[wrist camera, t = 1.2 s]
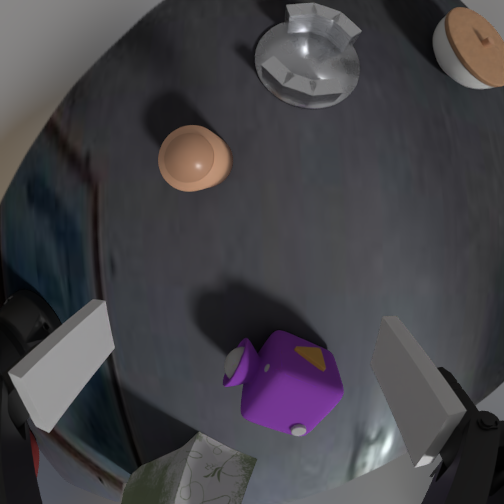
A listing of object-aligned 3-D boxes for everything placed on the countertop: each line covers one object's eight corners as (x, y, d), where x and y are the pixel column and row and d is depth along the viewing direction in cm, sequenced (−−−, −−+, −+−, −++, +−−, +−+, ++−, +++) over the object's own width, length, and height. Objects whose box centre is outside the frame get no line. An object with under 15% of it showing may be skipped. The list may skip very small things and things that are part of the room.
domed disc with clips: (240, 89, 29) (235, 75, 24) (273, 10, 26) (273, -11, 21) (343, 124, 29) (355, 117, 24) (368, 43, 26) (381, 26, 21)
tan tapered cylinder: (174, 179, 32) (148, 181, 25) (189, 129, 30) (167, 117, 23) (223, 194, 32) (209, 200, 25) (240, 143, 30) (231, 134, 23)
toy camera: (238, 311, 36) (228, 358, 26) (339, 337, 36) (358, 385, 26) (219, 374, 39) (206, 425, 29) (309, 395, 39) (316, 446, 29)
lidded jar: (484, 104, 26) (527, 95, 17) (425, 86, 27) (466, 66, 18) (472, 40, 23) (508, 22, 14) (413, 18, 24) (445, -11, 15)
